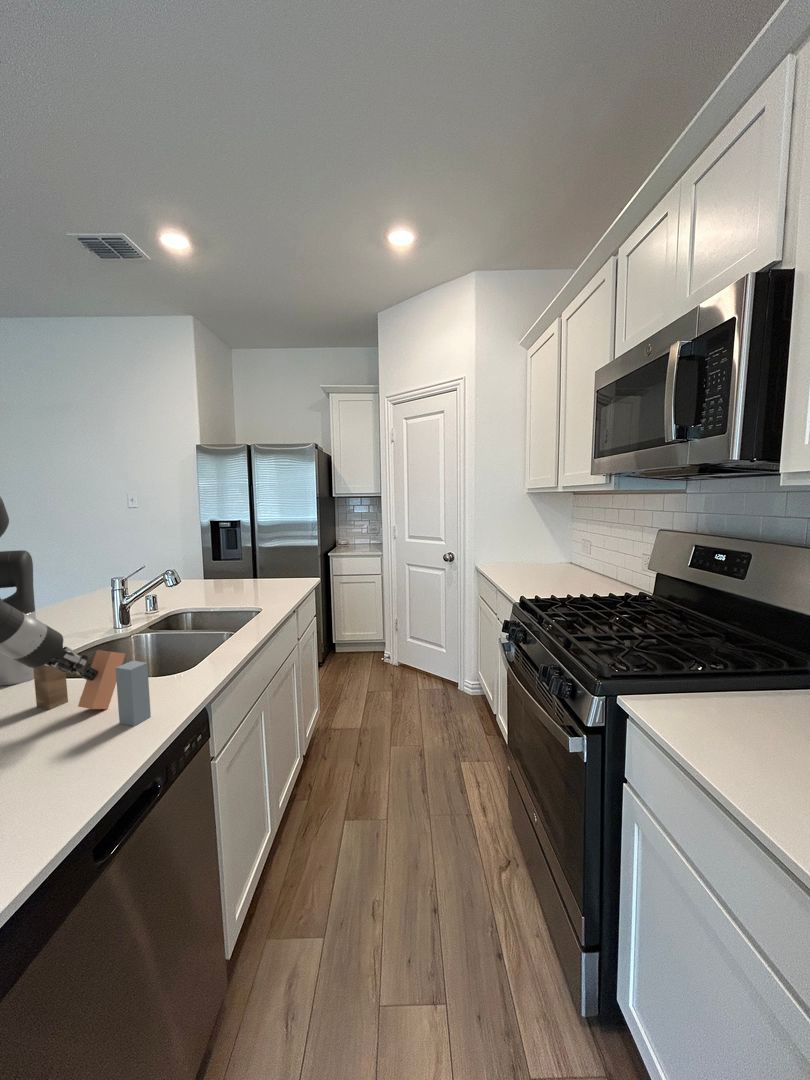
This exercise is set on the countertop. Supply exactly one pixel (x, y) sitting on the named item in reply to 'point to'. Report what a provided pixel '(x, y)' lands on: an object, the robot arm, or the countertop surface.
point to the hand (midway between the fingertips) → (93, 676)
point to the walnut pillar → (50, 687)
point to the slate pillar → (133, 693)
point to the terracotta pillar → (101, 680)
